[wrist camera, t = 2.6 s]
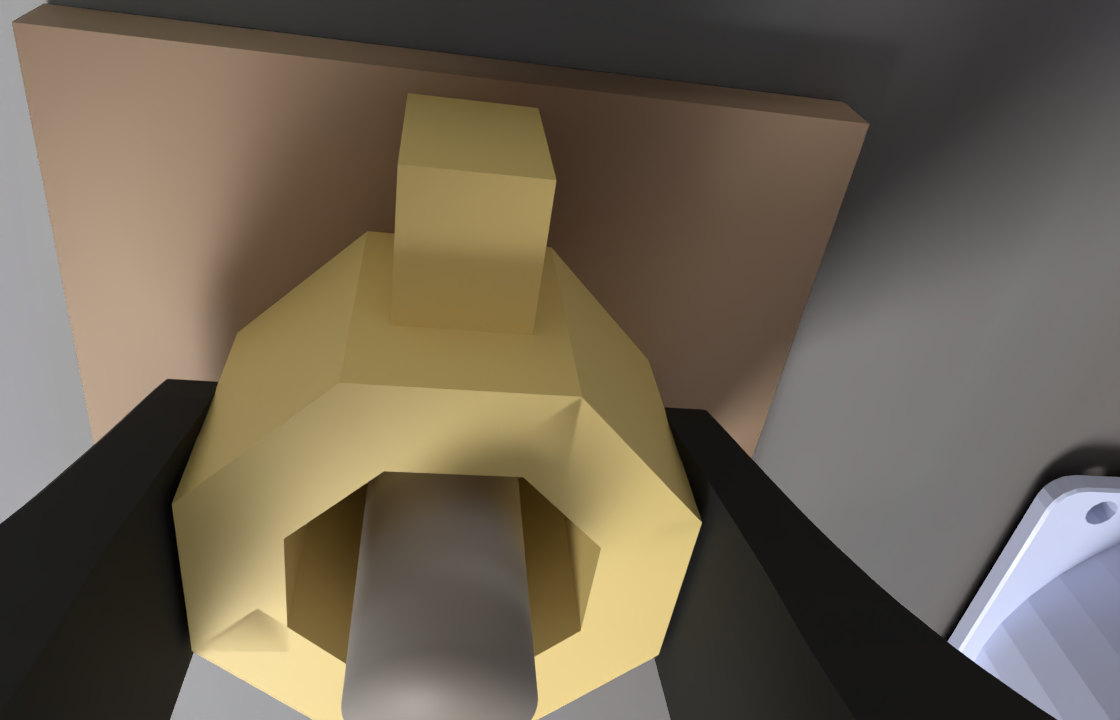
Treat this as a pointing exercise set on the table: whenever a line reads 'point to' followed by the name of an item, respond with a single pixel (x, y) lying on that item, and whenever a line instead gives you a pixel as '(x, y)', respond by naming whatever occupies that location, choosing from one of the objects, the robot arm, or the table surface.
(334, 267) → the ring
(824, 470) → the table surface
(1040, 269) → the table surface
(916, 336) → the table surface
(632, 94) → the tan square peg base
